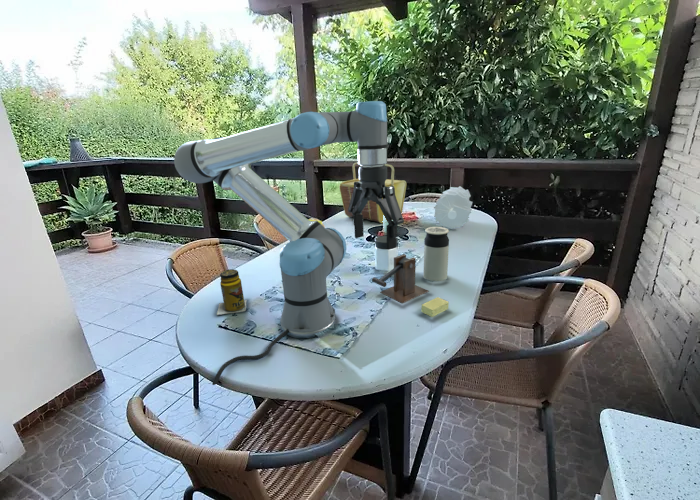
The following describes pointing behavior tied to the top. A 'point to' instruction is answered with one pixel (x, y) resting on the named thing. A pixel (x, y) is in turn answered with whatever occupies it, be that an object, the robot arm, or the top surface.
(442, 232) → the travel mug
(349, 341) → the top surface
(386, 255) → the jar
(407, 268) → the wooden lever stand
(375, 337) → the top surface
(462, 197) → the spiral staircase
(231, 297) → the condiment
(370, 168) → the robot arm
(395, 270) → the lever
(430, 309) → the butter
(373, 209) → the picnic basket
